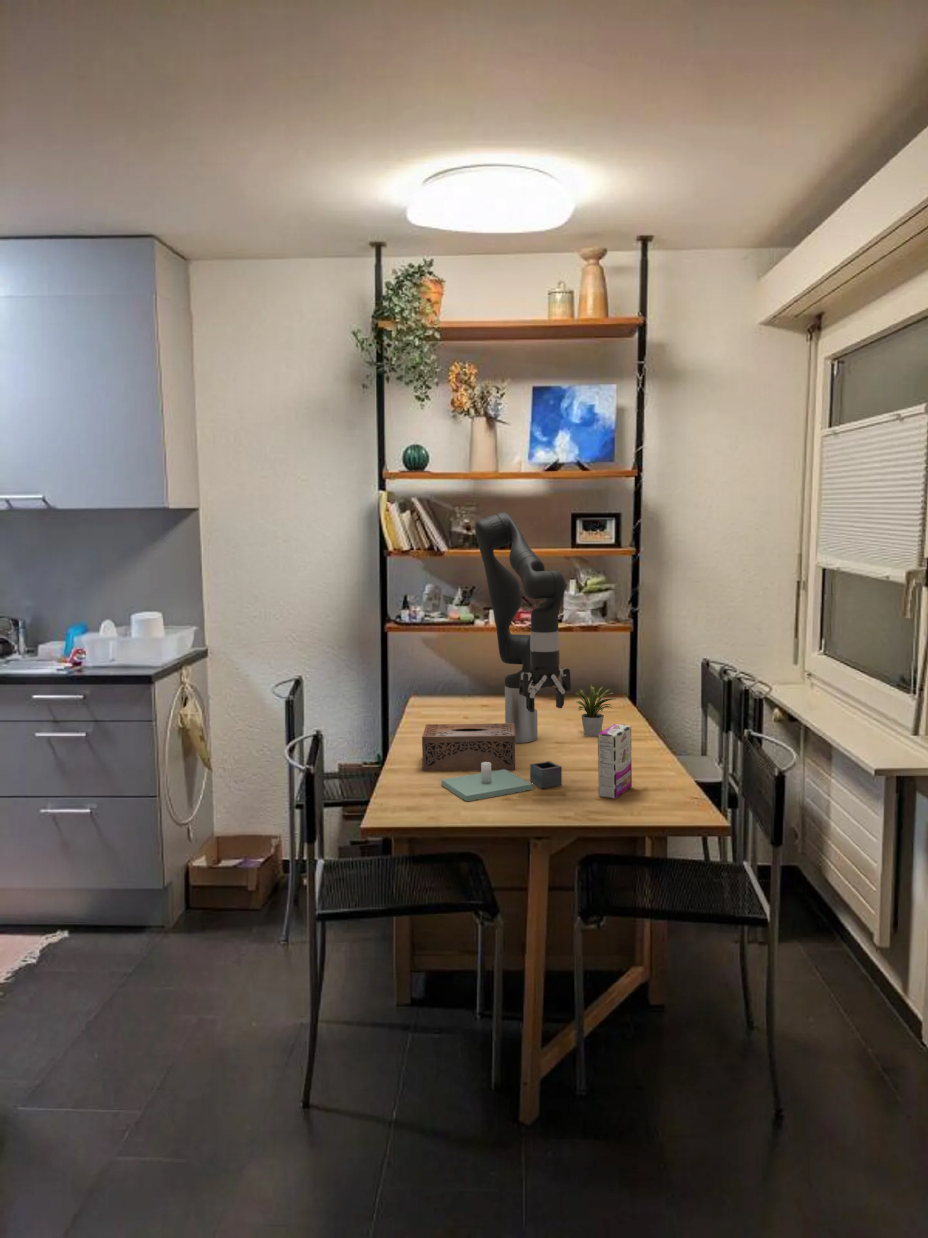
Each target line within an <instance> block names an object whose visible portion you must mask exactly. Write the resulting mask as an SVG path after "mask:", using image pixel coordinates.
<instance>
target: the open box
mask: <svg viewBox="0 0 928 1238" xmlns="http://www.w3.org/2000/svg"><path fill="white" fill-rule="evenodd" d="M562 768H563V767H562V766H560V765H558V764H556V763H554V762H552V761H551V760H548V761H542V762H536V763H530V764H529V776H530V779H529V783H530V782H531V784H532V783H533V785H534V786H535V787H538V788H539V787H540V788H539V789H541V788H544V789H548V788H549V787H550V788H554V787H559V786H560V785H561V786H562V785H563V783H562V781H563V780H562V776H563V775H562V773H563V772H562V770H563V769H562ZM561 786H560V787H561Z"/></svg>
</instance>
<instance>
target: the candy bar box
mask: <svg viewBox="0 0 928 1238" xmlns="http://www.w3.org/2000/svg"><path fill="white" fill-rule="evenodd" d="M597 758H598V759H597V762H598V763H597V764H598V797H600V796H601V797H600V798H606V797H607V798H606V799H614V800H617V799H618V798H619V797H620V796H622V795H623V794H624V793H625V792H627V791H628V790H629V789H631V788H632V786H633V785H632V783H633V782H632V781H633V780H632V779H633V778H632V725H628V724H619V723H614V724H613V725H611V726H609V727H607V728H605V729H604V730H601V732H600V733H599V734H598V736H597Z"/></svg>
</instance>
